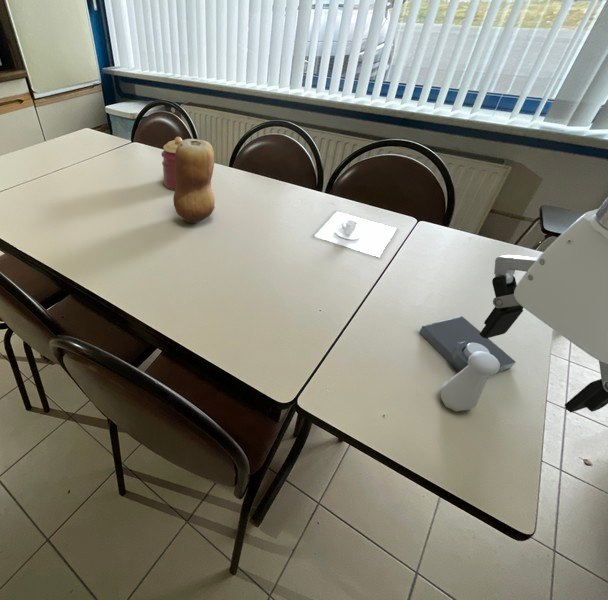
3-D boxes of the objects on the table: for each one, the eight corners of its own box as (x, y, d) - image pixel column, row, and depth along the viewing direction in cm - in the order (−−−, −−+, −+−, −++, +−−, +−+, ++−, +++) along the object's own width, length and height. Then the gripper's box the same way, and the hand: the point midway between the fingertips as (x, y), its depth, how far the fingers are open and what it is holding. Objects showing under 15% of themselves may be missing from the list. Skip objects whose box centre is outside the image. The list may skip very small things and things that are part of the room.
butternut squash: (217, 227, 118) (219, 148, 101) (176, 231, 116) (170, 151, 100) (210, 207, 128) (211, 132, 111) (172, 210, 127) (167, 135, 110)
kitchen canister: (186, 174, 149) (185, 129, 138) (203, 186, 141) (203, 138, 129) (158, 181, 144) (153, 135, 132) (173, 194, 136) (170, 145, 124)
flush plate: (512, 370, 75) (523, 357, 73) (465, 384, 73) (475, 371, 70) (457, 322, 86) (465, 310, 83) (415, 333, 83) (422, 320, 80)
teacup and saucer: (341, 224, 120) (344, 212, 117) (365, 231, 116) (369, 219, 113) (331, 235, 114) (334, 224, 111) (356, 243, 111) (360, 232, 108)
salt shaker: (450, 385, 72) (482, 341, 64) (477, 408, 69) (515, 364, 60) (429, 396, 71) (460, 352, 62) (456, 420, 67) (493, 377, 58)
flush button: (490, 360, 72) (495, 355, 71) (474, 365, 72) (478, 359, 70) (474, 346, 75) (478, 340, 74) (458, 350, 74) (462, 344, 73)
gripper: (889, 282, 21) (652, 431, 33) (584, 169, 34) (489, 306, 45) (812, 307, 20) (590, 455, 31) (521, 179, 32) (439, 318, 43)
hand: (530, 367), depth 38 cm, fingers open, 9 cm apart
